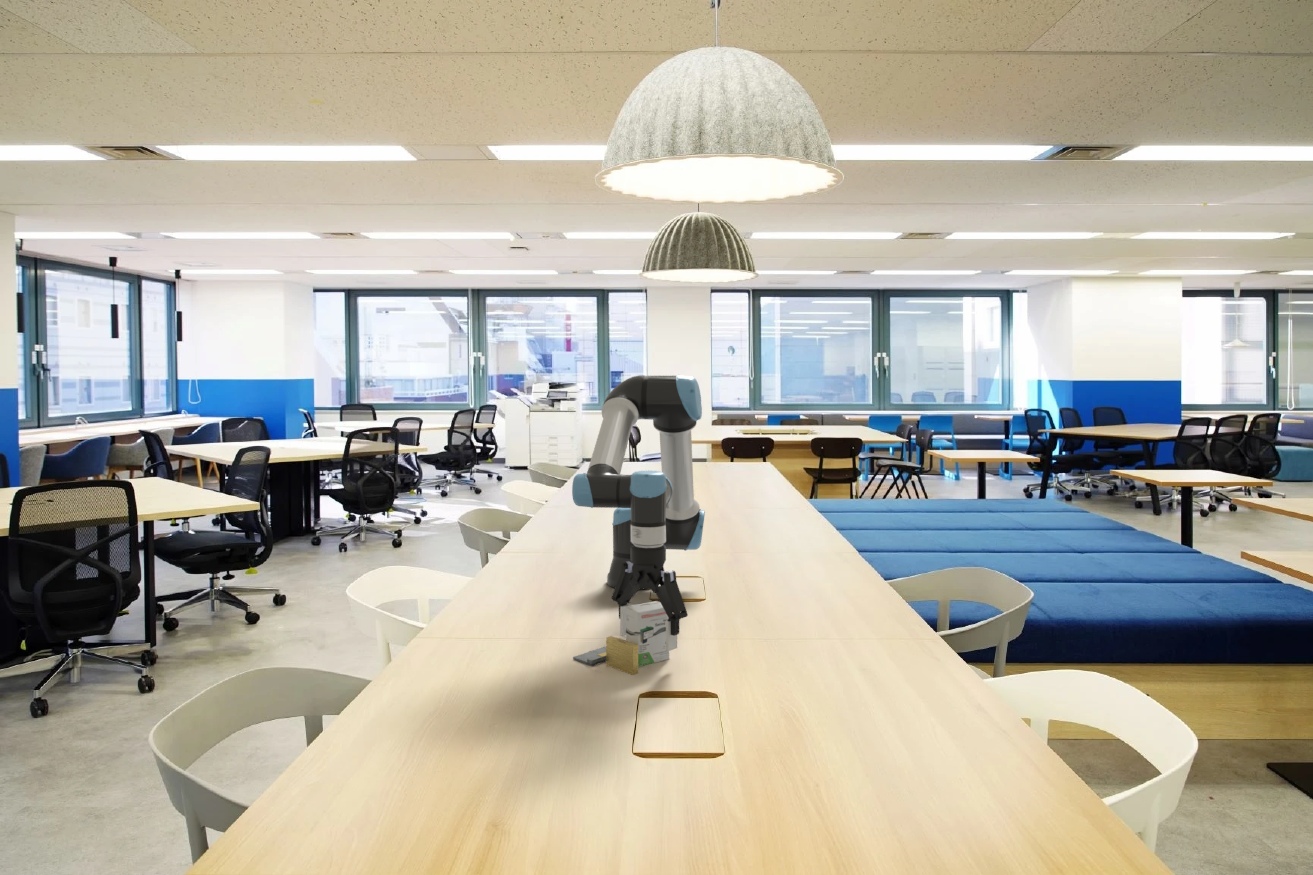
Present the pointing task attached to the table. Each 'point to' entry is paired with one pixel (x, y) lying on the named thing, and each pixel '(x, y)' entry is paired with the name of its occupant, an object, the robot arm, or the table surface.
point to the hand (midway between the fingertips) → (648, 641)
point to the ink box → (647, 631)
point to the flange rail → (614, 655)
